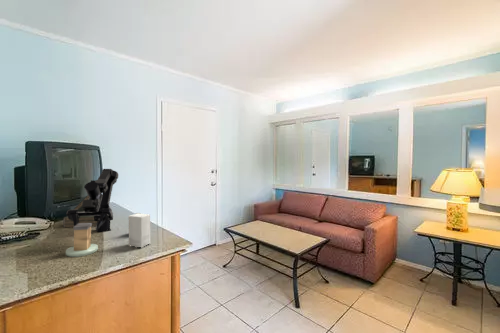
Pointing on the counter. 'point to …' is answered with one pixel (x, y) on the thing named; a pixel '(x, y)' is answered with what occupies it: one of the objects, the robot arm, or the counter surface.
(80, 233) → the grey cushioned footstool
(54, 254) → the counter surface
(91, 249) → the sage green coaster
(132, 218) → the skincare box
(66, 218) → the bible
